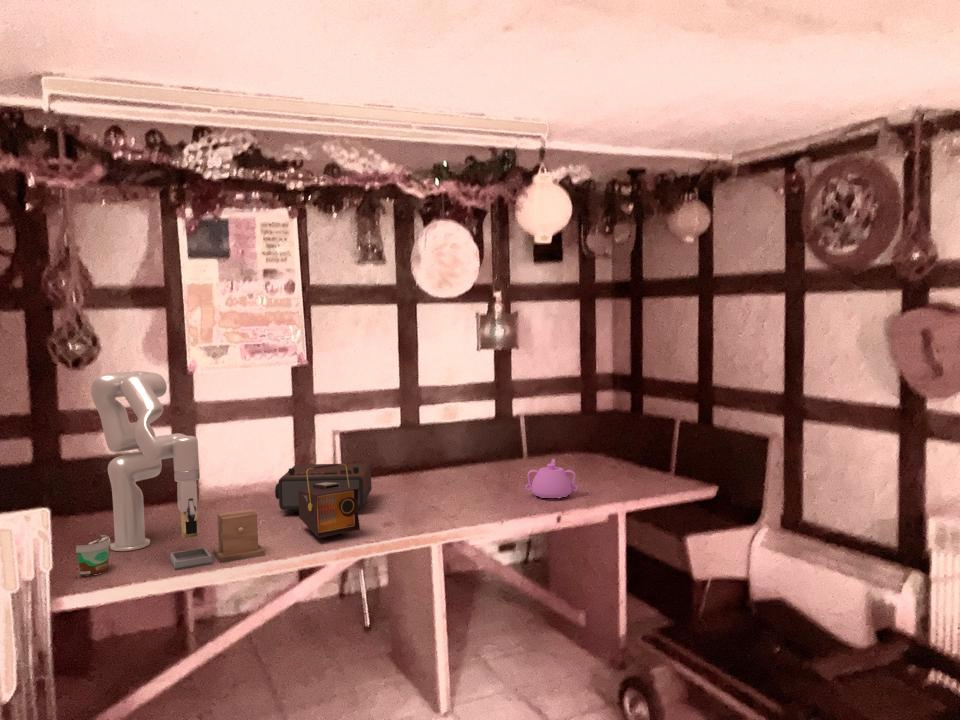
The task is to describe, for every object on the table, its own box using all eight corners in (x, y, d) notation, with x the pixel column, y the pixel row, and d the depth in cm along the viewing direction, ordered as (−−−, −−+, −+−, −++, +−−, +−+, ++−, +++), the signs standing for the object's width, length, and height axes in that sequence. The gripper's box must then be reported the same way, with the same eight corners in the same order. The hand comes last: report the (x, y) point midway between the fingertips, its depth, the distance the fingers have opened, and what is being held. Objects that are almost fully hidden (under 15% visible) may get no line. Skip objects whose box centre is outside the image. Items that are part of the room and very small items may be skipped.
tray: (170, 560, 250) (169, 552, 250) (205, 554, 256) (205, 547, 256) (175, 570, 241) (174, 562, 241) (212, 563, 246) (211, 556, 246)
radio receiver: (273, 517, 300) (271, 472, 299) (289, 500, 327) (287, 458, 326) (363, 515, 301) (362, 469, 300) (372, 498, 328) (370, 456, 327)
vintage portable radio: (319, 546, 262) (316, 473, 261) (292, 531, 281) (289, 463, 280) (362, 537, 272) (360, 466, 270) (333, 523, 291) (331, 457, 289)
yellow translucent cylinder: (180, 534, 249) (179, 510, 248) (197, 532, 251) (195, 507, 251) (183, 538, 244) (181, 513, 244) (199, 535, 247) (198, 511, 246)
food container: (95, 579, 234) (93, 546, 234) (77, 578, 235) (75, 545, 235) (121, 565, 246) (119, 534, 246) (103, 565, 247) (102, 534, 247)
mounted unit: (213, 552, 258) (211, 512, 257) (255, 545, 264) (254, 506, 263) (220, 562, 247) (218, 521, 246) (264, 555, 254) (263, 514, 253)
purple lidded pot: (578, 489, 336) (578, 458, 335) (577, 502, 315) (577, 468, 314) (528, 489, 339) (527, 457, 338) (523, 501, 318) (523, 467, 317)
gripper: (170, 472, 252) (173, 527, 253) (178, 481, 237) (181, 539, 238) (194, 469, 256) (197, 523, 257) (204, 478, 241) (207, 535, 242)
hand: (190, 530), depth 248 cm, fingers closed on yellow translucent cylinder, 5 cm apart
